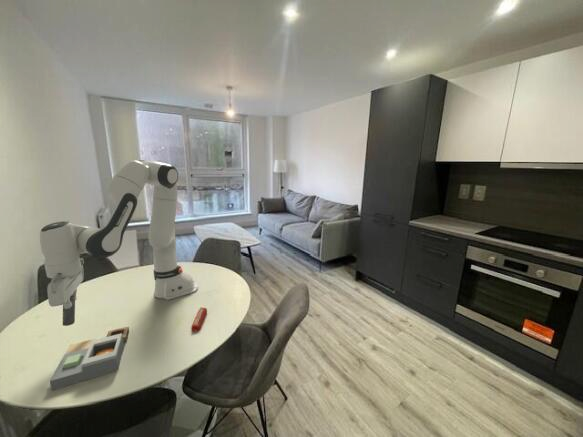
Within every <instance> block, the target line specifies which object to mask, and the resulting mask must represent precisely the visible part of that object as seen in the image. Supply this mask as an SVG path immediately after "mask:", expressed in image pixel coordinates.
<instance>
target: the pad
mask: <svg viewBox="0 0 583 437" xmlns="http://www.w3.org/2000/svg"><path fill="white" fill-rule="evenodd" d="M93 340H97V338H93V339H90V340H89V339H88V340H86V341H85V340H84V341H80V342H77V343H72V344H69V347H68V348H67V350H66V351H65V353H64V355H65V354H67V353H71V352H75V351H79V350H83V349H87V348H89V347H90V345H91V342H92V341H93Z"/></svg>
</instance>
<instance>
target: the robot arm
mask: <svg viewBox="0 0 583 437" xmlns="http://www.w3.org/2000/svg"><path fill="white" fill-rule="evenodd" d="M178 179H179V172H178V170H177V168H176V167H175V166H174V165H172V164H169V163H165V162H160V161H152V160H144V159H143V160H142V159H141V160H130V161H128V162H126V163H125V164H123V166H122V167H121V168H119V170H117V172H116V173H115V174H114V176H112V179H110V181H109V182H108V184H107V187H106V194H107V196H108V198H109V199H111V201H113V203H114V209H113V211H112V213H111V215H110V216H109V218H108V220H107V222H106V224H105V225H104V226H103V227H99V228H98V227H95V226H88V225H87V226H86V225H79V224H77V223H72V222H70V221H65V220H64V221H63V220H62V221H56V222H53V223H52V222H51V223H49V224H47V225H45V226H43V227H42V228H41V229H40V232H39V243H40V244H39V245H40V250H41V253H42V254H43V256H44V260H43V261H44V262H43V263H44V269H45V274H46V277H47V278H49V279H51V281H50V282H49V283H48V284H47V287H46V288H47V290H46V292H47V301H48V305H49V306H50V307H58V306H63V305H64V308H65V309H68V308H71V306H72V301H71V302H70V296H71V295H72V296H75V302H76V300H77V299H78V297H77V293H78V292H77V291H78V288H79V286H80V285H81V283H82V282H83V281H84V276H85V275H84V267H83V265H84V263H85V262H84V258H81V257H80V255H82V254H89V255H92V256H94V257H97V258H101V259H105V258H109V257H111V256H113V255H115V254H116V253H117V252H118V251H119V250H120V248H121V247H122V243H123V240H124V235H125V232H126V230H127V227H128V226H129V223H130V221H131V219H132V217H133V216H134V213H135V211H136V208H137V206H138V199H139V195H140V194H141V192H142V191H143V189H144V188H145V185H146V184H147V185H150V186H151V185H152V186H153V187H154V190H153V196H152V210H151V217H150V222H149V230H148V238H147V239H148V240H147V241H148V243H149V245H150V246H151V247H152V260H153V262H152V263H153V279H154V283H155V284H154V292H153V296H154V297H155V298H158V299H162V300H166V301H170V300H172V299H175V298H178V297H182V296H186V295H188V294H189V295H190V294H192V293H195V292H197V290H198V288H199V284H198V282H197V281H196V280H194V279H193V277H192V276H191V274H189V273H187V272H184V271H183V268H182V266H181V265H180V264H179V265H178V262H177V250H176V249H177V246H176V244H177V243H176V230H175V223H176V216H177V204H178V203H177V202H178V186H177V182H178Z"/></svg>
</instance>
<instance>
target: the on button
mask: <svg viewBox="0 0 583 437" xmlns="http://www.w3.org/2000/svg"><path fill="white" fill-rule="evenodd" d="M81 361H82V354H77V355H73V356H70V357H67V359H66V361H65V363H64V369H67V368H70V367H74V366H77V365H80V363H81Z"/></svg>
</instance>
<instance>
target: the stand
mask: <svg viewBox="0 0 583 437" xmlns="http://www.w3.org/2000/svg"><path fill="white" fill-rule="evenodd" d="M121 333H122V335H123V342H124V344H125V343H127V342H128V337H129V334H130V329H129V326H124V327H121V328H116V329H112V330H111V329H110V330H108V331H107V335H106V337H109V336H113V335H117V334H121Z"/></svg>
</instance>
